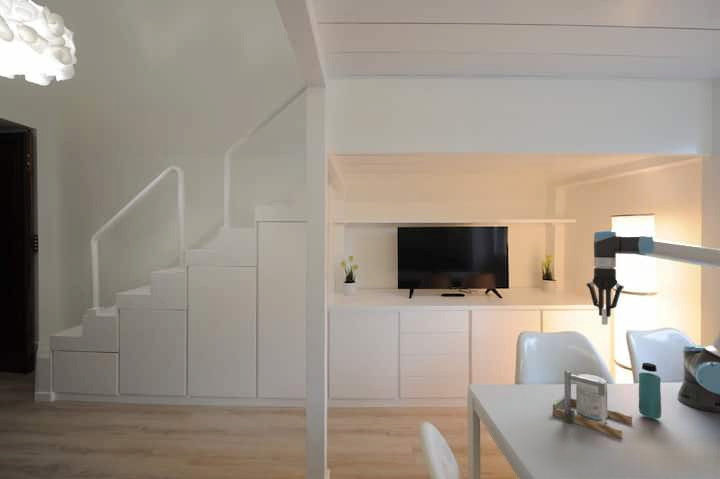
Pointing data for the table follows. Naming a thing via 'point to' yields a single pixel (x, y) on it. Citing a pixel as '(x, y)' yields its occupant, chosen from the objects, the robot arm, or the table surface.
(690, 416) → the table surface
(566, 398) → the hook post
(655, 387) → the beverage bottle
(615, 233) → the robot arm
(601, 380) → the supplement tub
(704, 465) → the table surface
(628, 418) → the bay board
